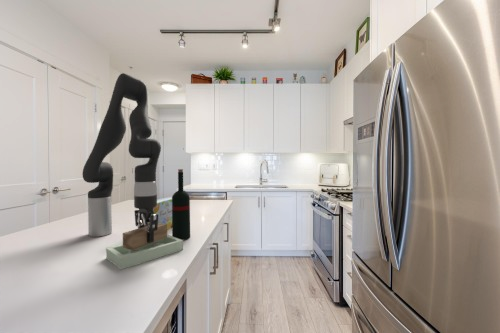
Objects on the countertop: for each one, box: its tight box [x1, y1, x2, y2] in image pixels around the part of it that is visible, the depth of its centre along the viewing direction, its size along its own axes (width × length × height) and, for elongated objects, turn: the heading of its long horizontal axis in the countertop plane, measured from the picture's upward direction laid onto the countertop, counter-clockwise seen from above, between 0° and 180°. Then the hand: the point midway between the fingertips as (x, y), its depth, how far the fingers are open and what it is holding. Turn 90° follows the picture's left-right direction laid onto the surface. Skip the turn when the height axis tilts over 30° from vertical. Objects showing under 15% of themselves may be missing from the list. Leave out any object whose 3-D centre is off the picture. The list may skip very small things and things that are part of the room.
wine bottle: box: [171, 168, 191, 241], centre depth 105 cm, size 8×10×30 cm
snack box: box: [148, 196, 172, 231], centre depth 116 cm, size 21×6×15 cm, turn 168°
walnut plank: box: [122, 223, 168, 250], centre depth 86 cm, size 5×15×5 cm, turn 154°
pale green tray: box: [105, 233, 184, 270], centre depth 86 cm, size 13×22×4 cm, turn 138°
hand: (146, 240), depth 86 cm, fingers closed on walnut plank, 5 cm apart
